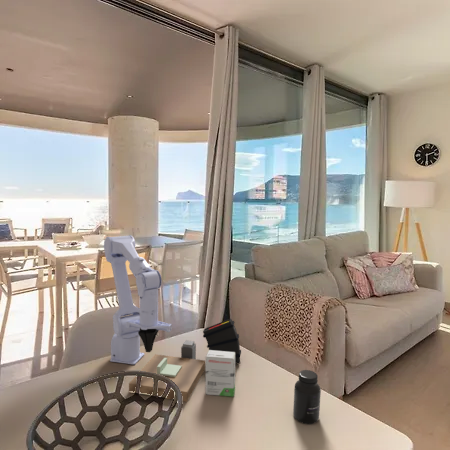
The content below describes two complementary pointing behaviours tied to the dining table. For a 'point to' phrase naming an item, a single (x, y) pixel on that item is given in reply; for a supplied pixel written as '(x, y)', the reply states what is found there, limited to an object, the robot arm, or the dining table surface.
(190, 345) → the plug
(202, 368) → the socket board
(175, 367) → the pale green notched block
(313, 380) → the supplement bottle
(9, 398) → the dining table surface
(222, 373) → the ink box
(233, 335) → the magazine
